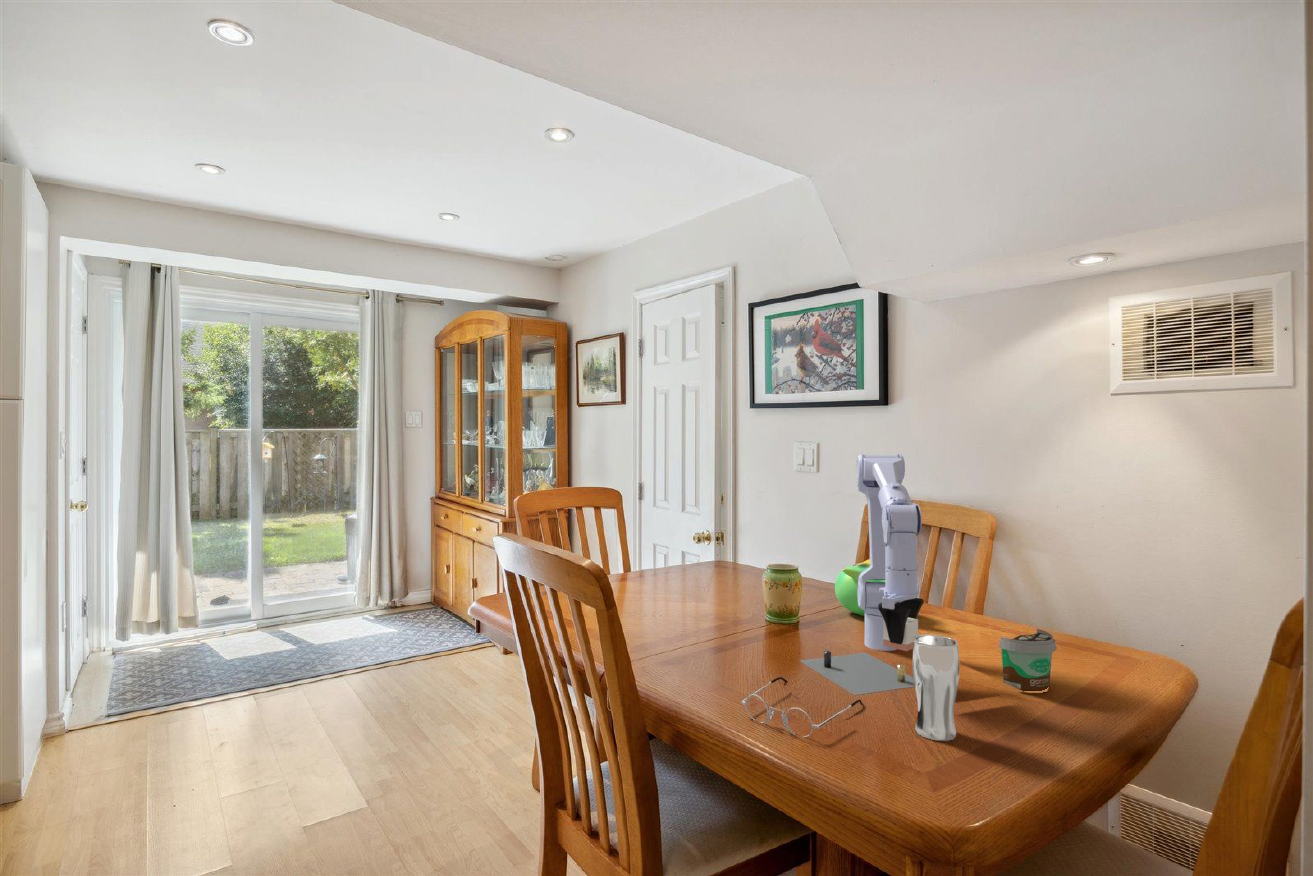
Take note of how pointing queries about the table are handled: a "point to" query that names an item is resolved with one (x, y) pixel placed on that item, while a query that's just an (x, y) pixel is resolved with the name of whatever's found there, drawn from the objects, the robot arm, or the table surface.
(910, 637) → the sleeve
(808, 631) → the table surface
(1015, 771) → the table surface
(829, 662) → the black pin
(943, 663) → the beer glass
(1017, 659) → the food container
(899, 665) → the brass pin
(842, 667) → the pin board
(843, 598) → the toy bird
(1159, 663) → the table surface
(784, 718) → the eyeglasses
